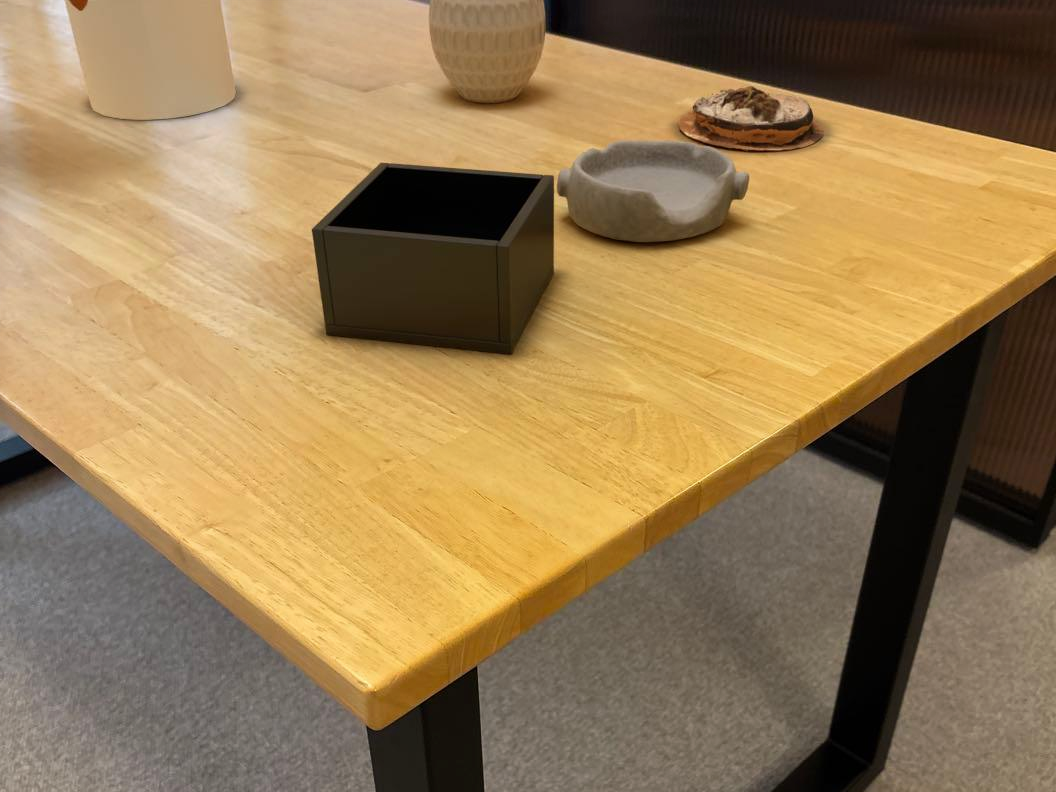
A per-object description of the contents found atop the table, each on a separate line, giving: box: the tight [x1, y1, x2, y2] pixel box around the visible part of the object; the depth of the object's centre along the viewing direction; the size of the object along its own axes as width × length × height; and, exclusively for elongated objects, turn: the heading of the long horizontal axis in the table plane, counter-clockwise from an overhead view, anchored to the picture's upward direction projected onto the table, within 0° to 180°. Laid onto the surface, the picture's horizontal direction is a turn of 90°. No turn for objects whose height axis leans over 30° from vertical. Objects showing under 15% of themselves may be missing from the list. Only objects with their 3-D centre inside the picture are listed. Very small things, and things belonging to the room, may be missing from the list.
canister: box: [64, 0, 237, 121], centre depth 117 cm, size 16×16×20 cm
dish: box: [556, 140, 750, 243], centre depth 93 cm, size 14×14×5 cm
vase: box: [428, 0, 547, 104], centre depth 119 cm, size 13×13×17 cm
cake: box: [678, 85, 825, 152], centre depth 112 cm, size 15×15×4 cm
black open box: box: [311, 162, 555, 355], centre depth 78 cm, size 14×14×8 cm
